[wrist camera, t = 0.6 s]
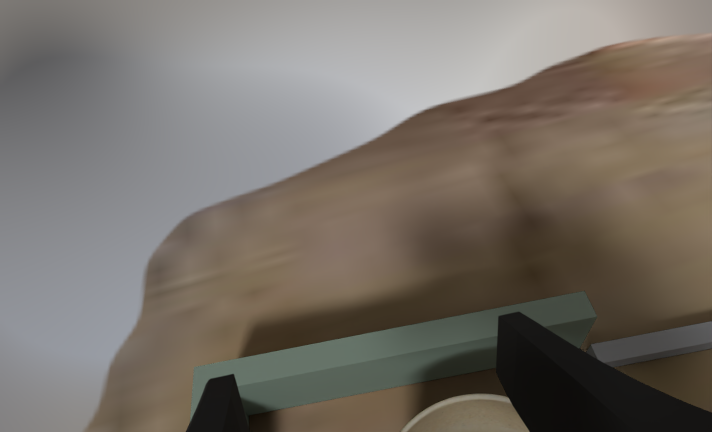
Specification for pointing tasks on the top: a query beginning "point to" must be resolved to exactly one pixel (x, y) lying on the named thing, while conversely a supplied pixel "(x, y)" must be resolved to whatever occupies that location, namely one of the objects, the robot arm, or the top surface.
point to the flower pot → (468, 415)
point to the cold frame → (387, 356)
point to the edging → (653, 345)
